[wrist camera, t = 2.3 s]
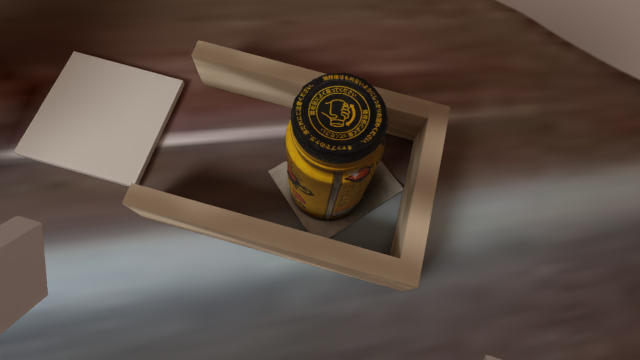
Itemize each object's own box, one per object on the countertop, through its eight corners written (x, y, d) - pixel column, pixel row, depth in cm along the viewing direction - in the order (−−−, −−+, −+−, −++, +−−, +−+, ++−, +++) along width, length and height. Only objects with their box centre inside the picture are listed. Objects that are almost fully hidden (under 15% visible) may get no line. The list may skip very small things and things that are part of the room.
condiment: (267, 172, 32) (251, 92, 20) (352, 123, 34) (379, 25, 22) (317, 246, 30) (328, 204, 19) (402, 190, 32) (460, 120, 21)
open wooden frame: (209, 70, 35) (198, 40, 31) (433, 130, 34) (450, 106, 30) (144, 217, 30) (121, 203, 26) (402, 291, 29) (418, 287, 25)
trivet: (77, 55, 34) (73, 51, 34) (184, 84, 34) (182, 80, 33) (18, 155, 31) (13, 152, 30) (136, 188, 31) (133, 186, 30)
